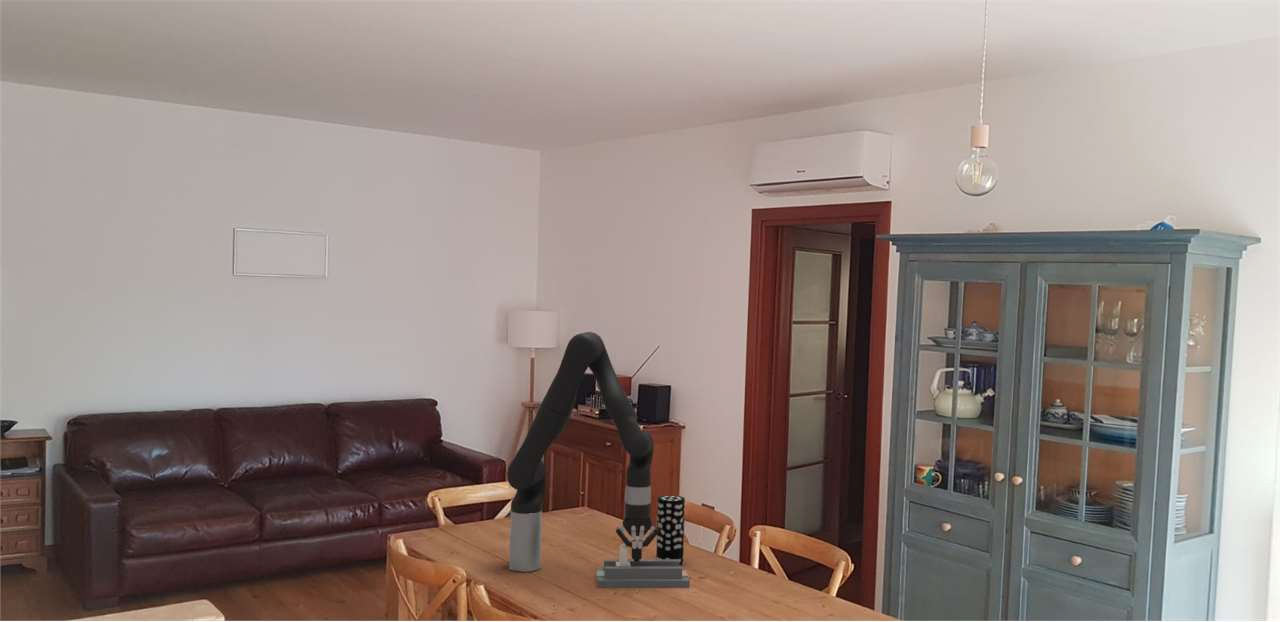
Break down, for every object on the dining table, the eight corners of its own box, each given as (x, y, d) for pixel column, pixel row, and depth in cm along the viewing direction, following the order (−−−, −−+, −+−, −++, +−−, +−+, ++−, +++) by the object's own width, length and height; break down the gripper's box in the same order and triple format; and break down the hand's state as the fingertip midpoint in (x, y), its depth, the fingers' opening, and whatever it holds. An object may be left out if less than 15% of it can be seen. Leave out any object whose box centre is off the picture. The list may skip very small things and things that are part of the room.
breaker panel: (597, 587, 266) (597, 570, 266) (596, 574, 278) (596, 557, 278) (689, 587, 268) (689, 570, 268) (684, 574, 280) (684, 557, 280)
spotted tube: (680, 567, 287) (682, 502, 286) (653, 565, 288) (655, 500, 288) (685, 560, 295) (686, 496, 294) (658, 558, 296) (660, 494, 296)
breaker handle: (616, 575, 270) (616, 548, 270) (615, 571, 274) (616, 544, 274) (630, 575, 270) (630, 548, 270) (629, 571, 274) (629, 544, 274)
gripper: (615, 503, 268) (614, 564, 268) (662, 504, 269) (660, 564, 269) (614, 497, 275) (612, 556, 276) (659, 498, 276) (658, 557, 277)
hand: (636, 560), depth 273 cm, fingers closed
